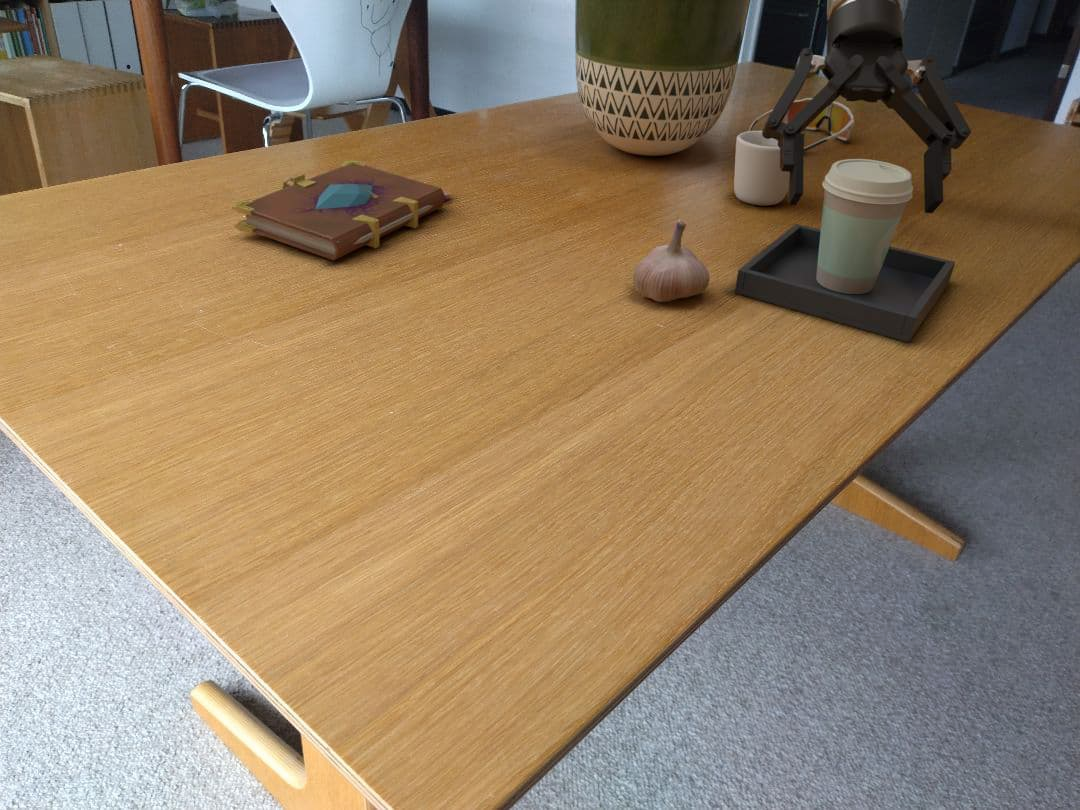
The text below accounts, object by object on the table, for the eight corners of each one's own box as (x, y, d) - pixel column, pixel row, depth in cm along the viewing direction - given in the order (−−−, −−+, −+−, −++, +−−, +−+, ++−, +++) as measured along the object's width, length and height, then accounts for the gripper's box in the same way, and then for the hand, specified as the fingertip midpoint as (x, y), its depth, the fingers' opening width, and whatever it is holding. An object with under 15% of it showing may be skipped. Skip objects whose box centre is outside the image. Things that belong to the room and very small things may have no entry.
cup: (745, 180, 122) (755, 122, 117) (802, 191, 118) (814, 132, 114) (718, 202, 114) (728, 140, 109) (778, 215, 110) (790, 151, 106)
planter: (680, 124, 146) (701, -59, 131) (760, 168, 127) (796, -40, 112) (542, 133, 138) (549, -60, 124) (606, 181, 119) (623, -40, 105)
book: (467, 207, 111) (468, 169, 108) (338, 274, 93) (335, 229, 90) (365, 176, 117) (364, 139, 114) (225, 233, 99) (219, 190, 96)
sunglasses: (865, 140, 140) (870, 109, 137) (807, 170, 133) (811, 138, 130) (792, 120, 149) (795, 91, 146) (734, 147, 142) (736, 117, 139)
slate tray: (948, 284, 94) (955, 261, 93) (908, 342, 82) (915, 317, 81) (791, 244, 102) (795, 223, 101) (734, 293, 90) (738, 269, 89)
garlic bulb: (713, 289, 91) (725, 215, 87) (694, 317, 85) (705, 239, 81) (644, 274, 93) (652, 202, 89) (621, 301, 88) (628, 224, 83)
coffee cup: (878, 307, 87) (909, 190, 81) (793, 287, 90) (816, 173, 84) (894, 278, 93) (924, 166, 87) (814, 260, 97) (837, 152, 90)
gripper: (969, 45, 95) (975, 226, 91) (738, 34, 97) (732, 212, 92) (1002, -2, 88) (1010, 193, 83) (752, -13, 89) (746, 178, 85)
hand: (864, 203), depth 88 cm, fingers open, 13 cm apart
